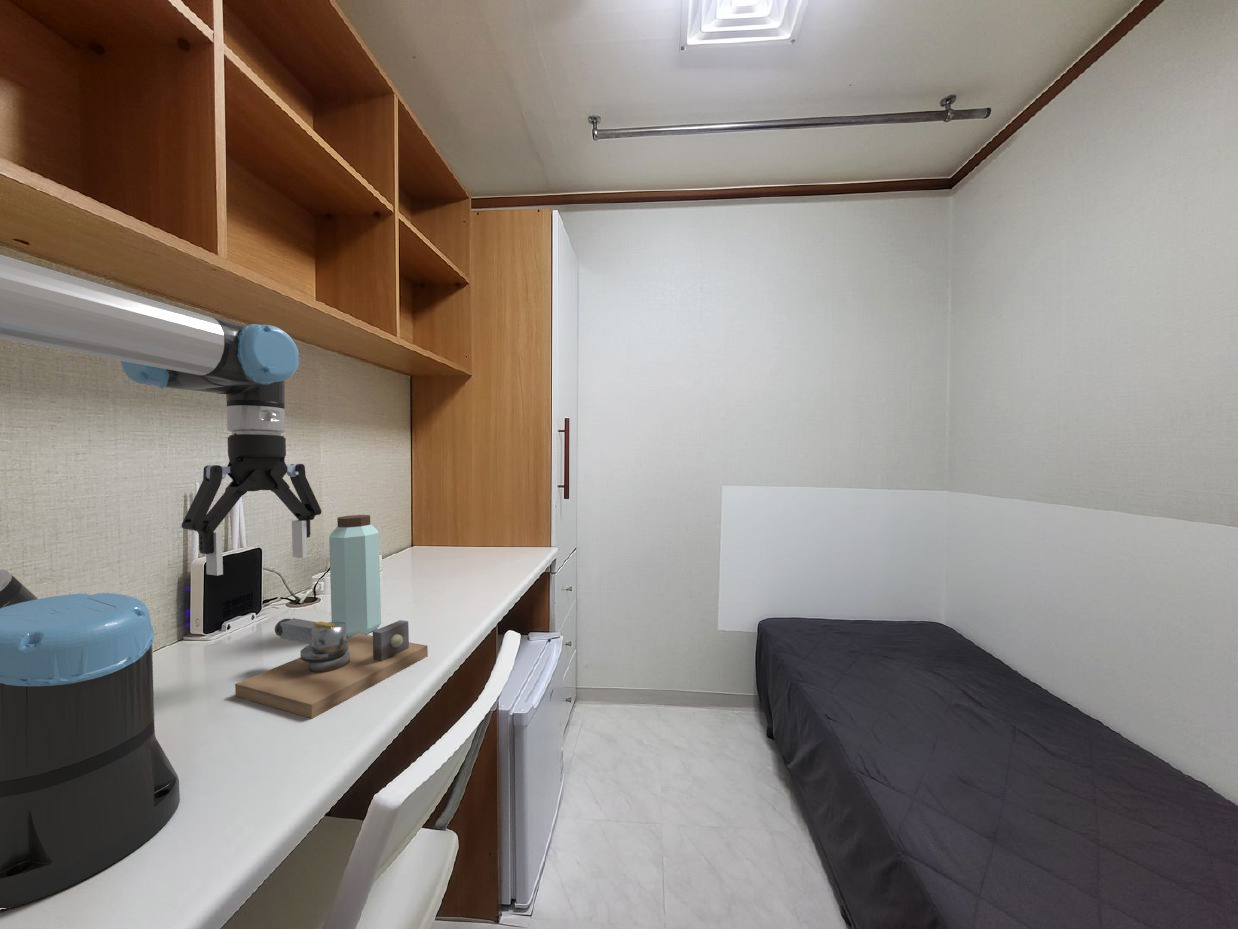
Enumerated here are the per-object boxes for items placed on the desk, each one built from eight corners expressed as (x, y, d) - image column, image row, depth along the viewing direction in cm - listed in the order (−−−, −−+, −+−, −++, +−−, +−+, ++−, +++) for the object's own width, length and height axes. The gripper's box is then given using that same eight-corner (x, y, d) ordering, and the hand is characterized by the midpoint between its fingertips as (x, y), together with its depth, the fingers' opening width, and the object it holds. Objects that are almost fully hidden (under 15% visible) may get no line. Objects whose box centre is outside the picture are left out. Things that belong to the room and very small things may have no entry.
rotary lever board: (312, 718, 66) (310, 670, 66) (235, 696, 73) (233, 652, 73) (427, 656, 87) (426, 619, 87) (359, 643, 93) (358, 609, 93)
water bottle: (342, 643, 94) (338, 521, 93) (322, 632, 100) (319, 517, 99) (391, 628, 102) (388, 515, 101) (370, 619, 108) (367, 512, 107)
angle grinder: (358, 648, 82) (357, 619, 81) (319, 665, 75) (318, 633, 75) (299, 637, 87) (298, 609, 87) (259, 651, 81) (258, 622, 81)
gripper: (176, 429, 63) (180, 586, 63) (342, 436, 85) (344, 552, 85) (147, 431, 66) (151, 581, 66) (314, 437, 88) (317, 549, 88)
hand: (260, 565), depth 76 cm, fingers open, 12 cm apart
